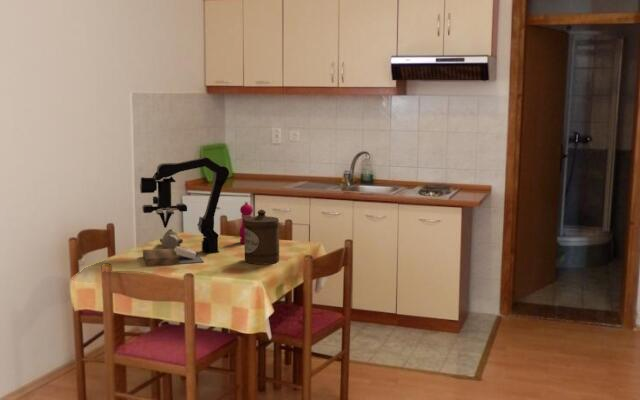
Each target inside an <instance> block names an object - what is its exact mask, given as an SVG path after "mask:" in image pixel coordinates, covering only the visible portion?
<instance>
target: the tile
mask: <svg viewBox="0 0 640 400" xmlns="http://www.w3.org/2000/svg"><path fill="white" fill-rule="evenodd" d="M174 251H175V253H176V254H177V255H181V256H184V257H188V258H192V259H195V256H196V254H197V253H196V252H195V250H192V249H188V248H185V247H182V246H178V245H177V246H176V247H175V248H174Z"/></svg>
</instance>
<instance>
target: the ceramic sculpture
mask: <svg viewBox="0 0 640 400" xmlns="http://www.w3.org/2000/svg"><path fill="white" fill-rule="evenodd" d="M159 242H160V243H161V245H162V248H163V249H171V248H173V249H174V250H175V249H176V246H178V245H181V244H182V243H183V242H184V239H183V238H179V235H178V234H177V233H176V232H175V231H174V230H173V229H168V230H167V231H165V233H164V235H163V236H162V237H161V238H160V239H159Z"/></svg>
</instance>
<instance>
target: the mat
mask: <svg viewBox="0 0 640 400" xmlns="http://www.w3.org/2000/svg"><path fill="white" fill-rule="evenodd" d="M178 258H179V265H185V264H187V265H188V264H202V263H205V261H204V260H203V259H202V257H201V256H200V255H199V253H196V256H195V259H192V258H188V257H184V256H181V255H178Z"/></svg>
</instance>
